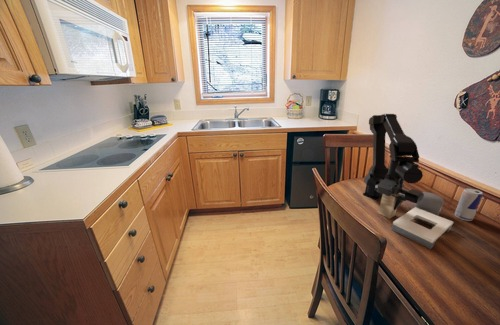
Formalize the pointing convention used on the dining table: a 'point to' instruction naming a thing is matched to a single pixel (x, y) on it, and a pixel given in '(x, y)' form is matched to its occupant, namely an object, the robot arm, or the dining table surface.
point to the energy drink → (468, 204)
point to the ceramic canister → (430, 203)
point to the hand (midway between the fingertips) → (388, 207)
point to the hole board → (421, 227)
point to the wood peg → (388, 205)
